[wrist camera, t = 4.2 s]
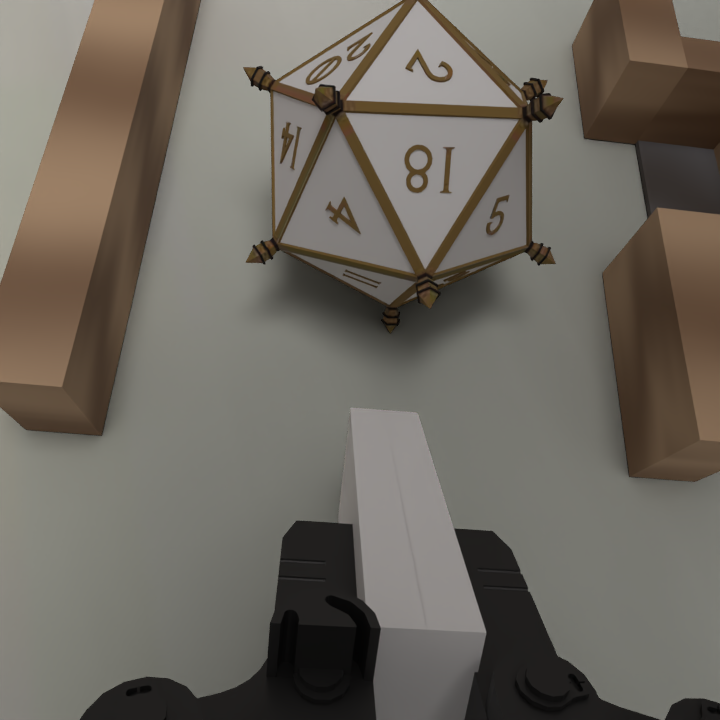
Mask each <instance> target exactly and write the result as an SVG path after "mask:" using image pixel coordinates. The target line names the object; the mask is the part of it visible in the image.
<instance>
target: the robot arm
mask: <svg viewBox="0 0 720 720" xmlns="http://www.w3.org/2000/svg"><path fill="white" fill-rule="evenodd" d="M338 520H339V523H328V522H312V521H296V522H295V523H294V524H293V525H292V527H291V528H290V529H289V530H288V532H287V533H286V534H285V535H284V537H283V540H282V549H281V558H280V567H279V576H278V585H277V594H276V603H275V612H274V615H273V617H272V620H271V622H270V632H269V646H268V658H267V660H266V661H265V663H264V664H263V666H262V668H261V669H260V670H259V671H258V672H257V673H256V674H255V675H254V676H253V677H252V678H251V679H249V680H248V681H246V682H244V683H243V684H241V685H239V686H238V687H236V688H233V689H230V690H227V691H224V692H221V693H218V694H214V695H210V696H206V697H201V698H196V697H195V696H194V695H193V694H192V692H191V691H190V690H189V689H188V688H187V687H186V686H184V685H182V684H180V683H177V682H175V681H173V680H171V679H168V678H155V677H144V678H140V679H136V680H131V681H127V682H123V683H122V684H120V685H118V686H116V687H114V688H112V689H111V690H109V691H107V692H105V693H103V694H102V695H101V696H100V697H99V698H98V699H97V700H96V701H95V702H94V703H93V704H92V705H91V706H90V707H89V708H88V709H87V710H86V712H85V713H84V714H83V716H82V717H81V719H80V720H659V719H656V718H653V717H649V716H646V715H643V714H640V713H637V712H634V711H630V710H627V709H624V708H621V707H618V706H616V705H613V704H611V703H608V702H606V701H603V700H602V699H600V698H599V697H598V695H597V693H596V691H595V689H594V688H593V687H592V685H591V684H590V682H589V681H588V679H587V678H586V677H585V675H584V674H583V673H582V672H580V671H579V670H578V669H577V668H575V667H574V666H573V665H572V664H571V663H569V662H568V661H566V660H564V659H562V658H560V657H558V656H557V654H556V651H555V649H554V647H553V645H552V642H551V640H550V638H549V635H548V633H547V631H546V628H545V626H544V624H543V621H542V619H541V617H540V615H539V612H538V610H537V608H536V605H535V603H534V601H533V598H532V596H531V594H530V592H528V587H527V585H526V582H525V580H524V578H523V575H522V574H520V568H519V566H518V564H517V561H516V559H515V557H514V554H513V552H512V550H511V549H510V548H509V547H508V546H507V545H506V544H505V543H504V542H503V541H502V540H501V539H500V538H499V537H498V536H497V535H496V534H495V533H494V532H493V531H483V530H468V529H454V527H453V524H452V521H451V518H450V514H449V511H448V508H447V505H446V502H445V498H444V495H443V492H442V489H441V486H440V482H439V479H438V476H437V473H436V470H435V466H434V463H433V460H432V457H431V454H430V450H429V447H428V444H427V441H426V438H425V434H424V431H423V428H422V425H421V422H420V418H419V415H418V413H417V412H404V411H391V410H379V409H366V408H353V407H350V413H349V422H348V431H347V440H346V449H345V458H344V467H343V476H342V485H341V494H340V503H339V513H338ZM665 720H720V703H717V702H713V701H710V700H707V699H689V698H685V699H683V700H681V701H679V702H677V703H675V704H673V705H672V706H671V708H670V710H669V712H668V714H667V716H666V719H665Z"/></svg>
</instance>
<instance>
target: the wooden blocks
mask: <svg viewBox="0 0 720 720" xmlns="http://www.w3.org/2000/svg"><path fill="white" fill-rule="evenodd" d="M200 1H201V0H95V1H94V4H93V7H92V10H91V13H90V16H89V19H88V22H87V25H86V28H85V31H84V34H83V37H82V40H81V43H80V46H79V49H78V52H77V55H76V58H75V61H74V64H73V67H72V70H71V73H70V76H69V79H68V82H67V85H66V88H65V91H64V94H63V97H62V100H61V103H60V106H59V109H58V112H57V115H56V118H55V121H54V124H53V127H52V130H51V133H50V136H49V139H48V142H47V145H46V148H45V151H44V154H43V157H42V160H41V163H40V166H39V169H38V172H37V175H36V178H35V181H34V184H33V187H32V190H31V193H30V196H29V199H28V202H27V205H26V208H25V211H24V214H23V217H22V221H21V224H20V227H19V230H18V233H17V236H16V239H15V242H14V245H13V248H12V251H11V254H10V257H9V260H8V263H7V266H6V269H5V272H4V275H3V278H2V281H1V284H0V407H1V408H2V409H3V410H4V411H5V412H6V413H7V414H9V415H10V416H11V417H12V418H13V419H14V420H15V421H17V422H18V423H19V424H20V425H21V426H22V427H23V428H24V429H26V430H36V431H49V432H62V433H75V434H88V435H101V436H102V432H103V427H104V423H105V419H106V414H107V410H108V405H109V401H110V397H111V392H112V388H113V383H114V379H115V375H116V370H117V366H118V361H119V357H120V353H121V348H122V344H123V339H124V335H125V331H126V326H127V322H128V318H129V313H130V309H131V304H132V300H133V296H134V291H135V287H136V282H137V278H138V274H139V269H140V265H141V260H142V256H143V252H144V247H145V243H146V238H147V234H148V230H149V225H150V221H151V216H152V212H153V208H154V203H155V199H156V195H157V190H158V186H159V181H160V177H161V173H162V168H163V164H164V159H165V155H166V151H167V146H168V142H169V137H170V133H171V129H172V124H173V120H174V115H175V111H176V107H177V102H178V98H179V94H180V89H181V85H182V80H183V76H184V72H185V67H186V63H187V58H188V54H189V50H190V45H191V41H192V36H193V32H194V28H195V23H196V19H197V14H198V10H199V6H200ZM572 48H573V55H574V63H575V70H576V78H577V85H578V93H579V100H580V108H581V115H582V123H583V130H584V138H588V139H597V140H605V141H613V142H622V143H630V144H635V145H636V151H637V156H638V162H639V168H640V173H641V179H642V185H643V190H644V196H645V202H646V207H647V213H648V219H647V220H646V221H645V223H644V224H643V225H642V226H641V227H640V229H639V230H638V231H637V232H636V233H635V235H634V236H633V237H632V238H631V239H630V241H629V242H628V243H627V244H626V245H625V247H624V248H623V249H622V250H621V251H620V253H619V254H618V255H617V256H616V257H615V259H614V260H613V261H612V262H611V263H610V264H609V266H608V267H607V268H606V269H605V270H604V272H603V281H604V288H605V296H606V303H607V311H608V319H609V326H610V334H611V341H612V349H613V356H614V364H615V371H616V379H617V386H618V394H619V401H620V409H621V416H622V424H623V431H624V439H625V446H626V454H627V461H628V469H629V477H641V478H654V479H667V480H680V481H692V482H695V481H698V480H700V479H702V478H705V477H707V476H709V475H712V474H714V473H717V472H719V471H720V42H718V41H710V40H703V39H695V38H688V37H681V36H680V32H679V28H678V23H677V19H676V15H675V11H674V7H673V2H672V0H594V1H593V3H592V5H591V7H590V9H589V11H588V13H587V15H586V18H585V20H584V22H583V24H582V26H581V28H580V30H579V32H578V34H577V36H576V39H575V41H574V43H573V45H572Z"/></svg>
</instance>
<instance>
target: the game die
mask: <svg viewBox="0 0 720 720" xmlns="http://www.w3.org/2000/svg"><path fill="white" fill-rule="evenodd" d="M243 68H244V70H245V72H246V74H247V76H248V78H249V79H250V81H251V86H252V87H253V86H254V85H255V86H256V87H258V88H259V90H260V91H261V90H262V89H263V90H267V91H269V92H270V97H271V164H272V231H273V238H272V239H271V240H270V241H266V242H263V240H262V241H261V243H260V244H259V245H257V246H255V245H253V249H252V251H251V253H250V255H249V257H248V259H247V261H246V263H263V264H266V263H265V261H267V260H268V259H271V260H272V259H273V257H272V256H273V255H274V254H275V253H276V252H277V251H279V250H281V251H283V252H284V253H286V254H288V255H290V256H292V257H294V258H296V259H298V260H300V261H302V262H303V263H305V264H307V265H309V266H311V267H313V268H315V269H317V270H319V271H321V272H323V273H324V274H326V275H328V276H330V277H332V278H334V279H336V280H338V281H340V282H342V283H343V284H345V285H347V286H349V287H351V288H353V289H355V290H357V291H359V292H361V293H363V294H364V295H366V296H368V297H370V298H372V299H374V300H376V301H378V302H380V303H382V304H383V305H385V306H386V309H385V312H382V314H383V315H384V317H383V319H381V321H382V322H383V323H384V324H385V326H386V327H387V329H388V331H389V332H390V333H391V332H392V330H393V329H394V328H395V326H398V324H399V321H400V319H398V318H399V315H400V312H398V309H397V307H399V306H401V305H404V304H406V303H408V302H410V301H413V300H415V299H418V303H422V304H424V305H425V306H427V307H428V308H430V309H431V307H432V305H433V303H434V302H435V300H436V299H437V298H438V297H439V295H440V294H441V293H440V292H439V291H438V289H440V288H443V287H445V286H447V285H450V284H452V283H454V282H456V281H459V280H461V279H463V278H466V277H468V276H470V275H473V274H475V273H477V272H479V271H482V270H484V269H486V268H489V267H491V266H493V265H496V264H498V263H500V262H502V261H505V260H507V259H509V258H512V257H514V256H516V255H519V254H521V253H523V252H525V253H528V255H529V256H530V258H531V260H532V261H533V260H535V261H536V262H537V264H538V265H540V264H556V263H555V261H554V259H553V256H552V254H551V251H550V249H551V248H550V247H548V248H546V247H545V246H543V243H541V244H537V243H534V242H533V241H532V121H536V120H537V121H538V122H542V121H543V119H545V118H548V119H549V120H550V119H551V118H552V116H553V114H554V112H555V110H556V108H557V107H558V105H559V104H560V103H561V101H562V100H563V98H560V97H555V96H551V94H550V93H546V94H542V93H543V92H544V87H545V85H546V83H547V81H548V80H540V79H536V78H530V81H529V82H528V83H527V82H525V83H524V86H523V87H522V89H520V88H519V87H518V86H517V85H516V84H515V83H514V82H512V81H511V80H510V79H509V78H508V77H507V76H506V75H505V74H504V73H503V72H502V71H501V70H500V69H499V68H498V67H497V66H496V65H495V64H494V63H493V62H492V61H490V60H489V59H488V58H487V57H486V56H485V55H484V54H483V53H482V52H481V51H480V50H479V49H478V48H477V47H476V46H475V45H474V44H473V43H472V42H471V41H470V40H468V39H467V38H466V37H465V36H464V35H463V34H462V33H461V32H460V31H459V30H458V29H457V28H456V27H455V26H454V25H453V24H452V23H451V22H450V21H449V20H448V19H446V18H445V17H444V16H443V15H442V14H441V13H440V12H439V11H438V10H437V9H436V8H435V7H434V6H433V5H432V4H431V3H430V2H429V1H428V0H402V1H401V2H399V3H398V4H396V5H394V6H393V7H391V8H390V9H388V10H387V11H385V12H383V13H382V14H380V15H379V16H377V17H375V18H374V19H372V20H371V21H369V22H368V23H366V24H364V25H363V26H361V27H360V28H358V29H356V30H355V31H353V32H352V33H350V34H349V35H347V36H345V37H344V38H342V39H341V40H339V41H337V42H336V43H334V44H333V45H331V46H330V47H328V48H326V49H325V50H323V51H322V52H320V53H318V54H317V55H315V56H314V57H312V58H311V59H309V60H307V61H306V62H304V63H303V64H301V65H299V66H298V67H296V68H295V69H293V70H292V71H290V72H288V73H287V74H285V75H284V76H282V77H281V78H279V79H277V80H274V79H273V78H272V76H271V75H270V72H269V71H267V72H266V71H264V70H263V67H262V66H259V67H257V68H250V67H243ZM535 97H537V98H535ZM526 100H530V103H529V104H528V103H527V101H526Z"/></svg>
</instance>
